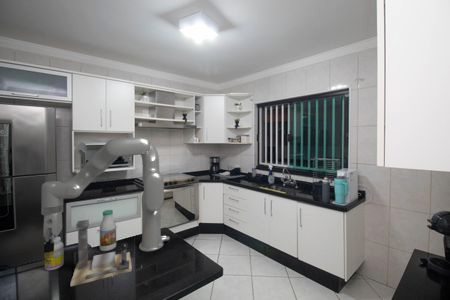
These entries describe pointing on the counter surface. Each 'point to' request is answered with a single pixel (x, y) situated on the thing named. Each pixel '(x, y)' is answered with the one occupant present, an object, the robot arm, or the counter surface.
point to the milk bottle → (107, 231)
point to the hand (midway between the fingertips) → (52, 246)
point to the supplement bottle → (55, 255)
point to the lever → (123, 256)
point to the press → (95, 261)
